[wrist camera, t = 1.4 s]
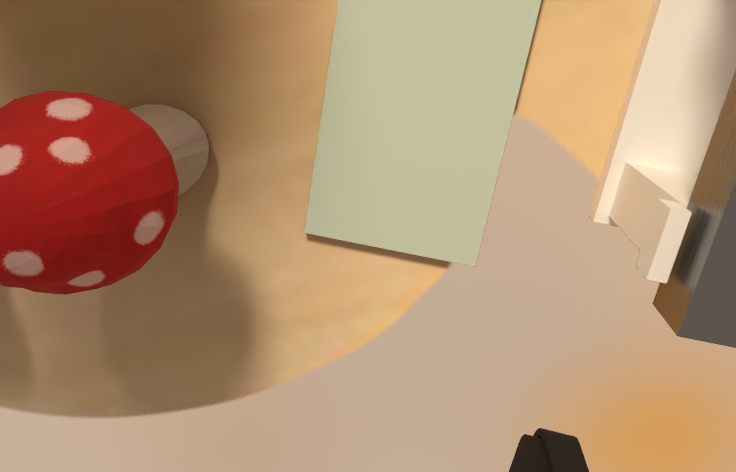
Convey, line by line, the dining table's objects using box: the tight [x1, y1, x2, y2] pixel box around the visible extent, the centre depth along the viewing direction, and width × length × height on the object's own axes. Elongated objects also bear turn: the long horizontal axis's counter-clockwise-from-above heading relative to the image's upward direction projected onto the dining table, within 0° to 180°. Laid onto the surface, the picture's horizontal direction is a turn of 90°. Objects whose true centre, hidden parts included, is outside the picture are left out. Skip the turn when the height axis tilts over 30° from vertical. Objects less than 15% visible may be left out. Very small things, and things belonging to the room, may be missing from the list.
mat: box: [304, 0, 541, 267], centre depth 33 cm, size 24×10×1 cm, turn 170°
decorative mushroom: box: [0, 91, 209, 294], centre depth 30 cm, size 10×9×15 cm
